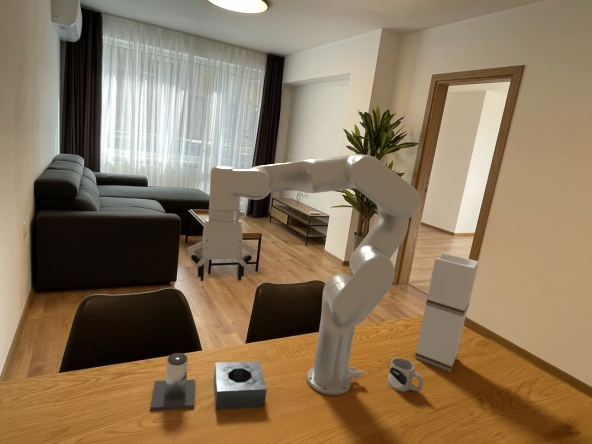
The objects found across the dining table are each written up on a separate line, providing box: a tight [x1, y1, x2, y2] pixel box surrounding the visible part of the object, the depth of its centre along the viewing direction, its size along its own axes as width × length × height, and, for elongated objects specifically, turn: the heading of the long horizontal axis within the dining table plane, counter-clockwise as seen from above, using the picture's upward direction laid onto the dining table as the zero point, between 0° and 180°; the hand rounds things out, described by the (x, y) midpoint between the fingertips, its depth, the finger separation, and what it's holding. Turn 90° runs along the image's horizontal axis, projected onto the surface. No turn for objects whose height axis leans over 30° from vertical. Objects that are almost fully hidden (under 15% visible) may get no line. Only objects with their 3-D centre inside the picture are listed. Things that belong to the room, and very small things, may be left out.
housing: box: [213, 361, 268, 411], centre depth 98 cm, size 12×12×5 cm
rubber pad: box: [149, 379, 196, 411], centre depth 95 cm, size 10×10×1 cm
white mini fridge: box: [414, 252, 479, 373], centre depth 125 cm, size 11×11×35 cm
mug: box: [387, 357, 424, 393], centre depth 110 cm, size 10×7×7 cm
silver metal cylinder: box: [164, 352, 189, 399], centre depth 94 cm, size 5×5×10 cm
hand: (220, 279), depth 100 cm, fingers open, 9 cm apart
